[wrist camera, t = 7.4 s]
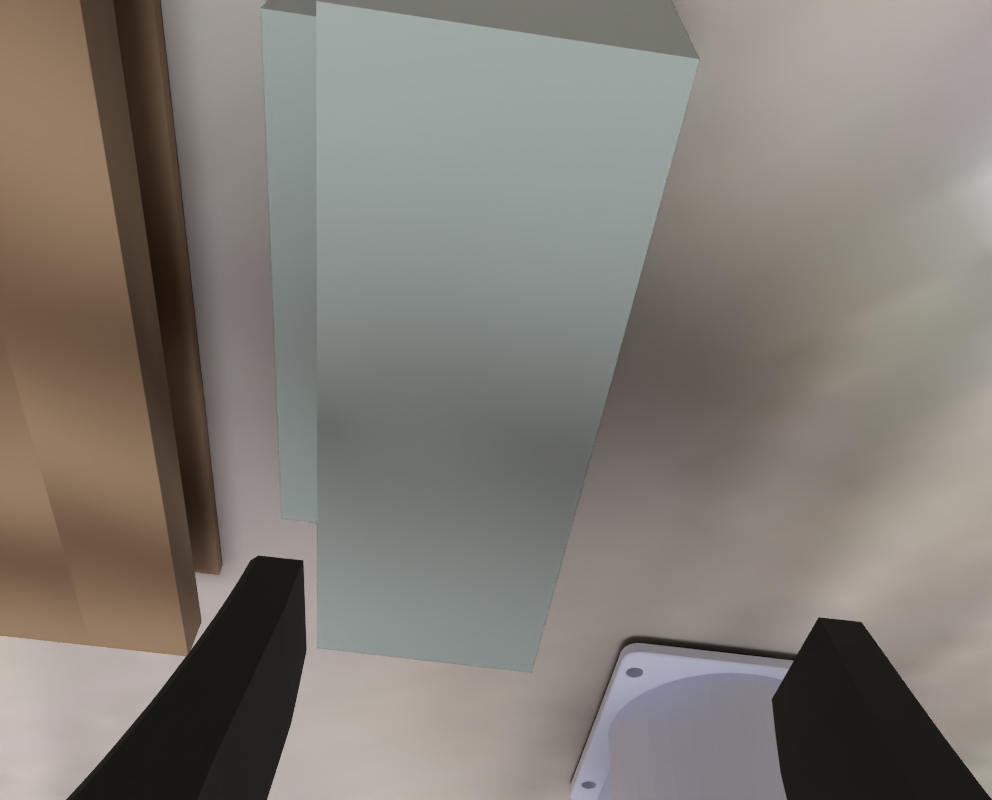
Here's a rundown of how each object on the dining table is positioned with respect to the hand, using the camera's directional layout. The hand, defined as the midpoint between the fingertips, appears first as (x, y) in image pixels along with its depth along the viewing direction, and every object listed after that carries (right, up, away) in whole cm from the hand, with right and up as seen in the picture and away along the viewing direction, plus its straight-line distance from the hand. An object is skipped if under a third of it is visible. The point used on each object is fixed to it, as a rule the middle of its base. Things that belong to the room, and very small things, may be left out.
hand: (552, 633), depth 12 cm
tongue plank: (-1, +5, +7) cm, 9 cm away
